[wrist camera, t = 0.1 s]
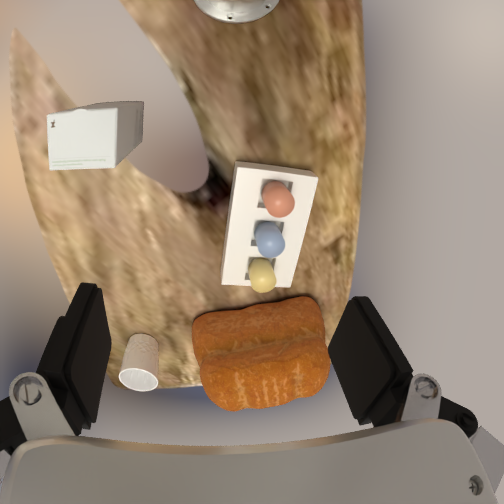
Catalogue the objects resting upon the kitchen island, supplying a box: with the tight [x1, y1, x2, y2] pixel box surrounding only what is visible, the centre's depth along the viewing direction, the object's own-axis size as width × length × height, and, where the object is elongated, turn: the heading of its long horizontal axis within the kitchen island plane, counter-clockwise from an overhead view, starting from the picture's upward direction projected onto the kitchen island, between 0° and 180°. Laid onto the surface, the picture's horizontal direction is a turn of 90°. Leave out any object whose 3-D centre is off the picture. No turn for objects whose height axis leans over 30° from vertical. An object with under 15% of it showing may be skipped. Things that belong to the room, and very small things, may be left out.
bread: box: [192, 296, 330, 411], centre depth 56 cm, size 16×26×17 cm, turn 97°
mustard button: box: [248, 258, 277, 293], centre depth 49 cm, size 4×4×4 cm
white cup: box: [119, 334, 159, 391], centre depth 57 cm, size 8×8×10 cm
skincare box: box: [47, 101, 144, 170], centre depth 32 cm, size 8×7×16 cm
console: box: [221, 161, 318, 287], centre depth 49 cm, size 20×12×4 cm, turn 171°
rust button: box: [261, 181, 295, 218], centre depth 43 cm, size 4×4×4 cm
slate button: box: [254, 222, 285, 258], centre depth 46 cm, size 4×4×4 cm
